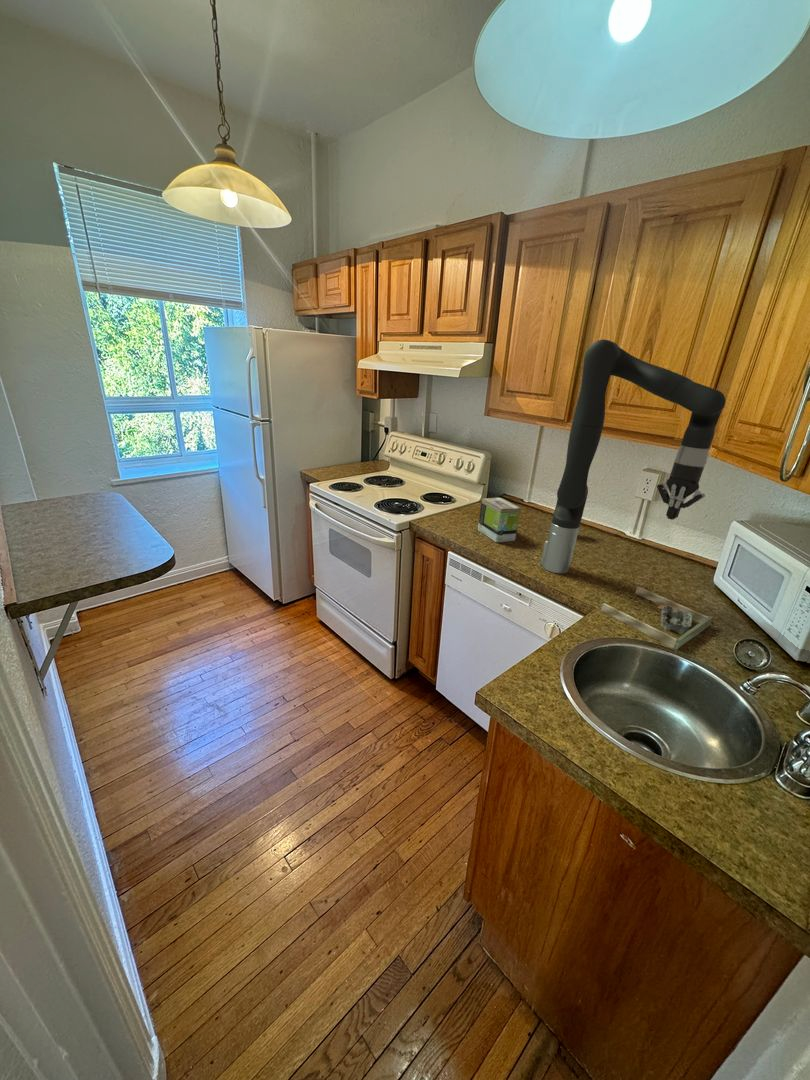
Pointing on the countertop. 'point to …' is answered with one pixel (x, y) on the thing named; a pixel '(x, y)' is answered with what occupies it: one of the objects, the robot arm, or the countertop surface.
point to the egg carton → (676, 620)
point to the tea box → (499, 519)
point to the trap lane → (655, 633)
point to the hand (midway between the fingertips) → (671, 518)
